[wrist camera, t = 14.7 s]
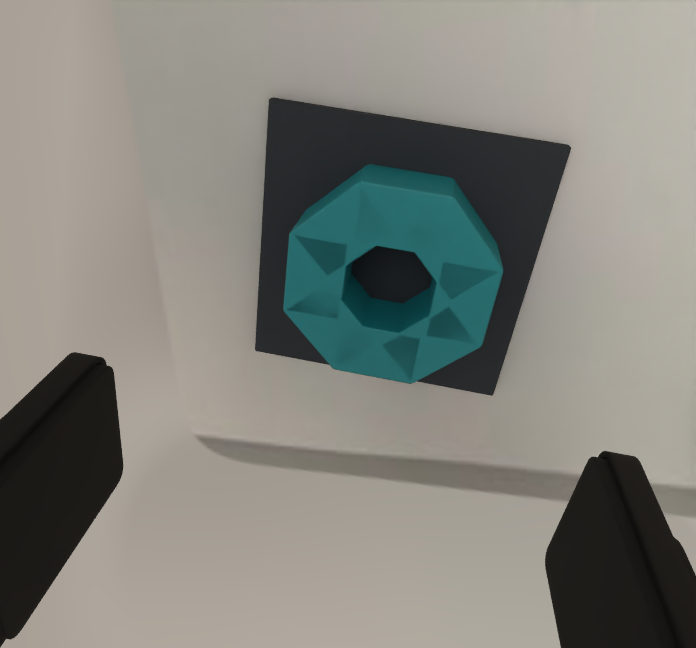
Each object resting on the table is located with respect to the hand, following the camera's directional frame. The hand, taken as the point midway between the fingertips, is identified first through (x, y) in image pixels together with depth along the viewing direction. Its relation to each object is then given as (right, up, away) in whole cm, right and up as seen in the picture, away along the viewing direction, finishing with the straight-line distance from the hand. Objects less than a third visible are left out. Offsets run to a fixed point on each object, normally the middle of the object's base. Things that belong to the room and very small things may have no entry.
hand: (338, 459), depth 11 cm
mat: (+2, +5, +10) cm, 12 cm away
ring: (+2, +5, +10) cm, 11 cm away
